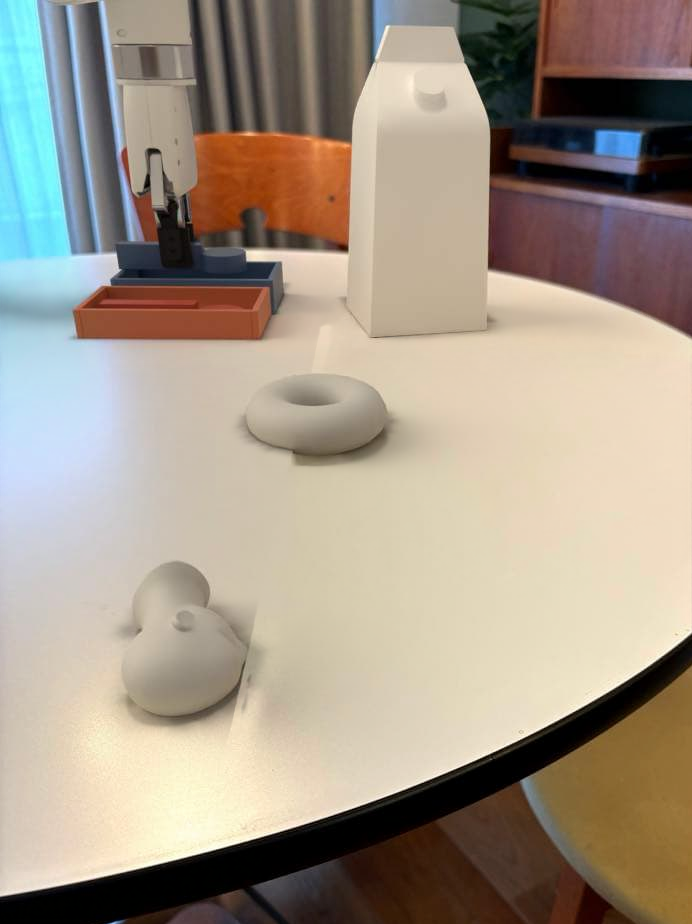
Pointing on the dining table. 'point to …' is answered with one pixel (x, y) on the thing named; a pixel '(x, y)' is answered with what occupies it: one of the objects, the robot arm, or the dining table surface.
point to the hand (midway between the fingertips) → (179, 263)
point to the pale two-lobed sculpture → (179, 645)
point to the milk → (419, 190)
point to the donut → (316, 413)
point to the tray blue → (210, 278)
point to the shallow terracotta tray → (160, 304)
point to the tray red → (175, 313)
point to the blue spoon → (203, 259)
